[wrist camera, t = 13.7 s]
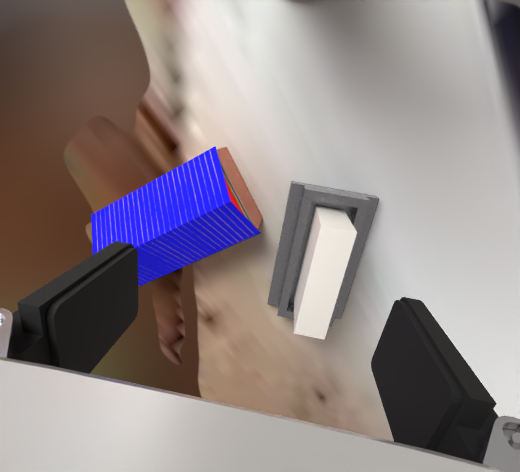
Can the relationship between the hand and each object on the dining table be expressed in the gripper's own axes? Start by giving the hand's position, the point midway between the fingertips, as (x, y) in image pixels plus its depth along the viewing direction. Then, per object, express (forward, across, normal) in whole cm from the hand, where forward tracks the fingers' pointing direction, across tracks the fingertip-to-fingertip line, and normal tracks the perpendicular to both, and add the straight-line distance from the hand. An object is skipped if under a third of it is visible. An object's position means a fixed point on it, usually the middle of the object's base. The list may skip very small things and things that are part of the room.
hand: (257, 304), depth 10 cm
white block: (+31, -7, +11) cm, 33 cm away
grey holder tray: (+32, -7, +11) cm, 35 cm away
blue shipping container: (+33, +13, +8) cm, 36 cm away
